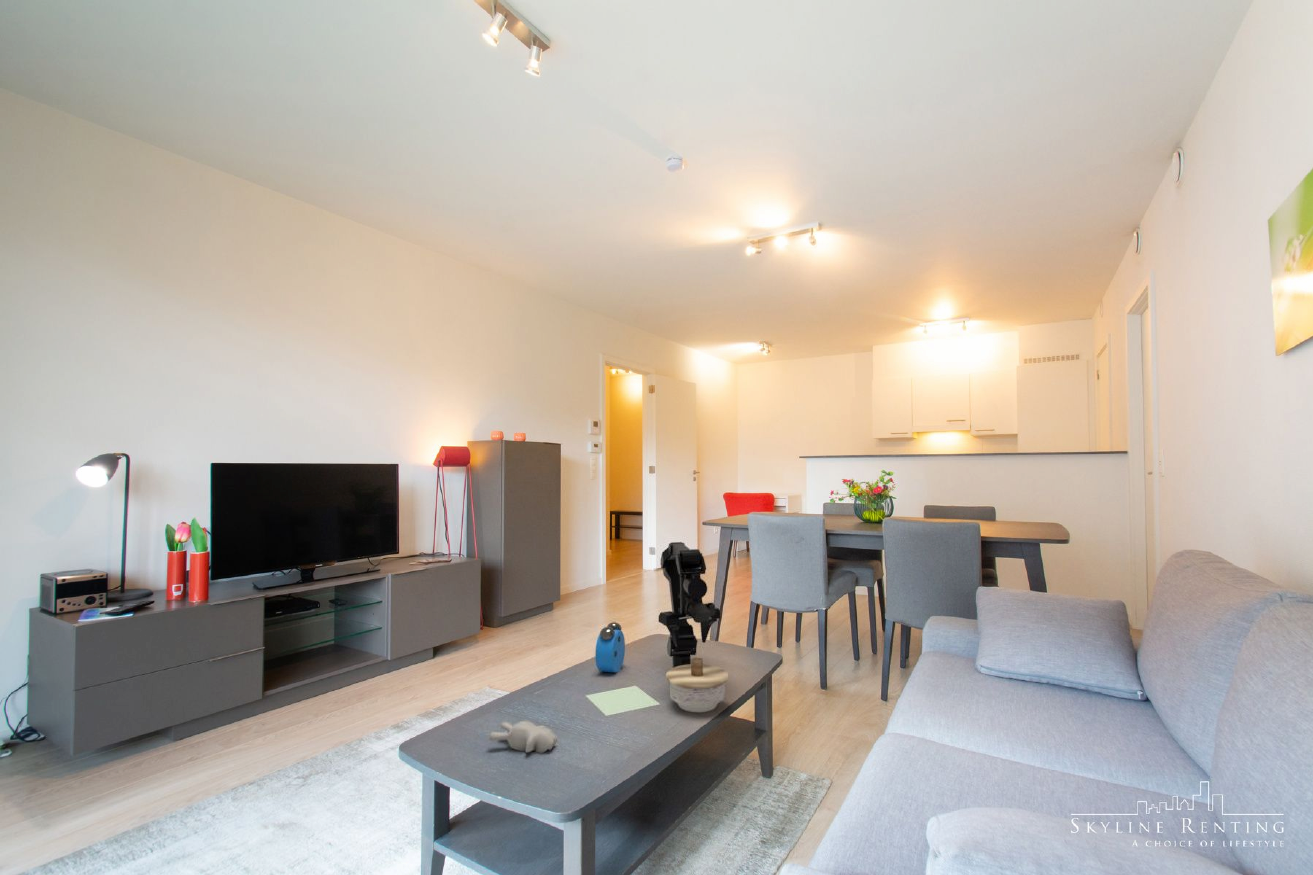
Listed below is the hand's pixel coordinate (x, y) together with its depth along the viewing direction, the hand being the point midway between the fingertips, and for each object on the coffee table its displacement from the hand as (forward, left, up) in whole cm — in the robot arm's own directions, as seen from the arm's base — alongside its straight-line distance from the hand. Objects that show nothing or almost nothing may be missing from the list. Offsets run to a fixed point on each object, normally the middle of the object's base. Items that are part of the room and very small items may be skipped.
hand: (690, 644), depth 178 cm
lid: (+12, -5, -5) cm, 14 cm away
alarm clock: (-26, -15, -13) cm, 33 cm away
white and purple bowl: (+12, -5, -13) cm, 19 cm away
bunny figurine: (+13, -53, -13) cm, 56 cm away
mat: (-1, -22, -13) cm, 26 cm away
